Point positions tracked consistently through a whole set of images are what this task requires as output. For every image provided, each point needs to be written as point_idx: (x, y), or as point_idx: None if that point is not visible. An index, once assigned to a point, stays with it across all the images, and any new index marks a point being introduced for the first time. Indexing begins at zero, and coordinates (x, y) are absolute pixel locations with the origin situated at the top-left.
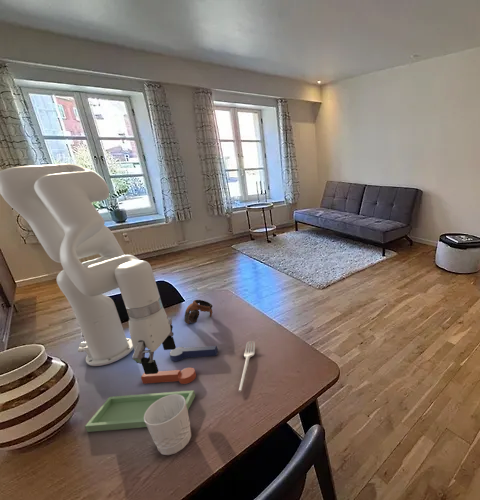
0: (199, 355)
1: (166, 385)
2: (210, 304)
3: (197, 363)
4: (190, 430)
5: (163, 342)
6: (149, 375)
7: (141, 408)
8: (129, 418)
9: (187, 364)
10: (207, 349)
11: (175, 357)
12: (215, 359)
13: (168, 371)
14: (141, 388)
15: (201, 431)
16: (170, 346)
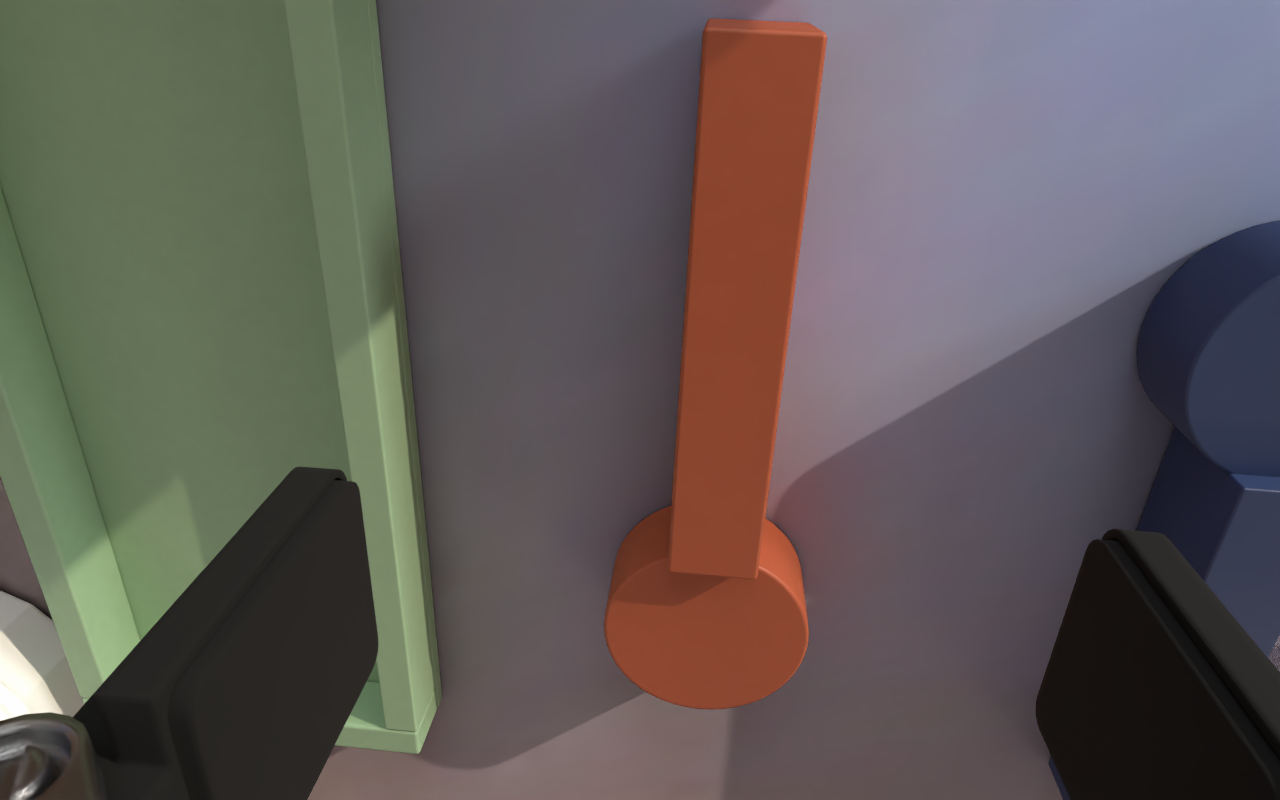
0: None
1: (622, 380)
2: None
3: (967, 610)
4: None
5: (1196, 735)
6: (714, 181)
7: (232, 257)
8: (82, 184)
9: (990, 505)
10: None
11: (1169, 370)
12: (975, 764)
13: (756, 442)
14: (608, 45)
15: None
16: (1079, 730)
